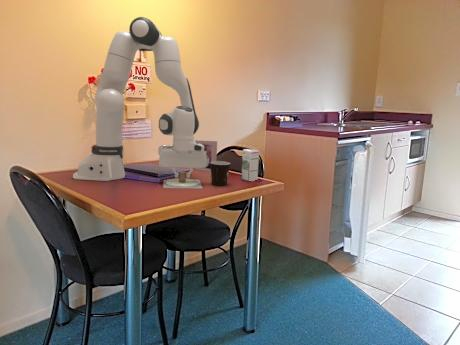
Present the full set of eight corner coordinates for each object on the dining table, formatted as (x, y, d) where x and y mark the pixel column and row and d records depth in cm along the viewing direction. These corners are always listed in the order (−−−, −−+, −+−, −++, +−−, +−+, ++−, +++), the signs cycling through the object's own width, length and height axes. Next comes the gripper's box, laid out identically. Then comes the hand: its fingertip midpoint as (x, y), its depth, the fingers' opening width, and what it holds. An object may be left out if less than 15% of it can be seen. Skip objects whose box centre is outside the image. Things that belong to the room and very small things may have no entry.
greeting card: (193, 169, 206) (194, 140, 203) (201, 167, 213) (202, 139, 210) (211, 172, 201) (213, 142, 198) (219, 170, 207) (220, 141, 204)
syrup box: (257, 180, 187) (259, 150, 184) (248, 181, 184) (250, 150, 181) (249, 178, 192) (251, 148, 189) (240, 179, 188) (242, 149, 185)
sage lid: (165, 187, 163) (166, 175, 162) (165, 179, 176) (165, 169, 175) (199, 187, 165) (200, 176, 164) (197, 180, 178) (197, 169, 178)
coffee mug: (217, 182, 179) (218, 160, 177) (232, 185, 174) (234, 163, 172) (200, 186, 170) (201, 163, 168) (216, 190, 165) (218, 166, 163)
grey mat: (163, 189, 162) (163, 187, 161) (163, 180, 177) (163, 179, 177) (202, 189, 164) (202, 188, 164) (199, 181, 180) (199, 179, 180)
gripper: (158, 145, 163) (157, 178, 165) (207, 147, 166) (206, 179, 169) (158, 143, 169) (157, 175, 171) (206, 145, 172) (205, 176, 175)
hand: (182, 177), depth 170 cm, fingers open, 3 cm apart
